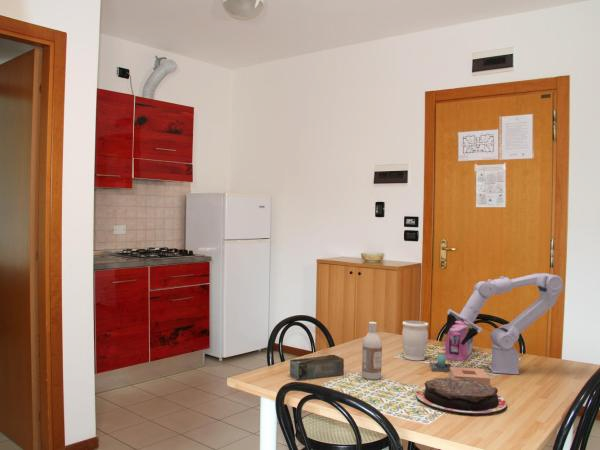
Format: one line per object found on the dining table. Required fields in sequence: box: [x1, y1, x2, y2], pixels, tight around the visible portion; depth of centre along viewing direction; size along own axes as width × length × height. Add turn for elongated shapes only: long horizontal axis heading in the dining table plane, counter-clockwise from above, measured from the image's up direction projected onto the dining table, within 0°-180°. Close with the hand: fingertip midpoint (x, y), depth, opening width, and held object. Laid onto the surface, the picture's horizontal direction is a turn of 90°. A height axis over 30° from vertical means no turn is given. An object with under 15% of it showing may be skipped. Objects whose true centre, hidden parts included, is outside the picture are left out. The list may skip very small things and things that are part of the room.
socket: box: [448, 366, 491, 386], centre depth 188 cm, size 12×12×3 cm
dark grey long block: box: [289, 354, 345, 382], centre depth 190 cm, size 8×19×7 cm, turn 116°
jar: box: [401, 320, 429, 362], centre depth 217 cm, size 11×10×15 cm
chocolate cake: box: [415, 376, 508, 417], centre depth 167 cm, size 28×28×7 cm
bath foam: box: [361, 321, 383, 381], centre depth 189 cm, size 7×7×20 cm
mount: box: [429, 362, 453, 373], centre depth 202 cm, size 8×8×1 cm
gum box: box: [444, 318, 474, 362], centre depth 225 cm, size 24×8×14 cm, turn 152°
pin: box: [436, 349, 446, 367], centre depth 202 cm, size 3×3×7 cm
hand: (453, 339), depth 201 cm, fingers open, 7 cm apart
